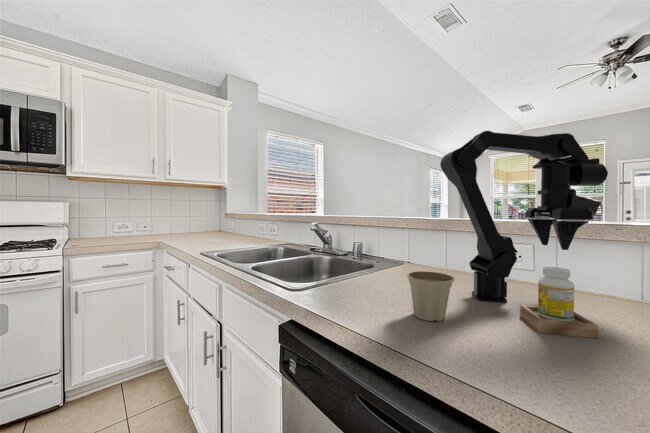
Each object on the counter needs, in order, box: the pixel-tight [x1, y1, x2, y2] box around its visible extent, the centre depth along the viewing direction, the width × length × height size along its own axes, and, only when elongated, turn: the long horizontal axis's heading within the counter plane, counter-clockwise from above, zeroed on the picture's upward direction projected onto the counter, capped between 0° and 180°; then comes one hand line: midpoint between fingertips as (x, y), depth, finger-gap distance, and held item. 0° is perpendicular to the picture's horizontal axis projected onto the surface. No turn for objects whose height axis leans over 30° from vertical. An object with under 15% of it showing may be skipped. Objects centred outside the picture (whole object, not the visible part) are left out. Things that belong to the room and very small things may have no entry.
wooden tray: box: [519, 304, 599, 339], centre depth 53 cm, size 9×9×2 cm
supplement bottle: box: [537, 266, 575, 322], centre depth 53 cm, size 5×5×10 cm
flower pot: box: [406, 270, 456, 322], centre depth 58 cm, size 9×9×9 cm
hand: (554, 247), depth 70 cm, fingers open, 9 cm apart
